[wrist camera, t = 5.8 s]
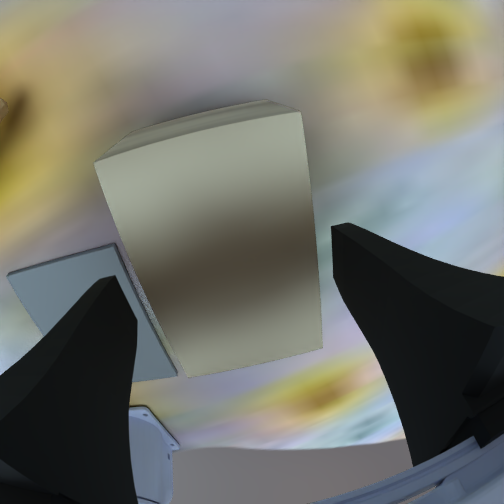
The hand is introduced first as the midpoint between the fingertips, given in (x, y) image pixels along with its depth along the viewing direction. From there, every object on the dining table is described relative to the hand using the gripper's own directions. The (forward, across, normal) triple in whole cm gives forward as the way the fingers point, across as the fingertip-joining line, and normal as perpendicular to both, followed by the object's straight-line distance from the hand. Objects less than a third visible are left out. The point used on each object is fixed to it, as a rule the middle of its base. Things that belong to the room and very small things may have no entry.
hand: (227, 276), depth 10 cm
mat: (+8, +11, +7) cm, 15 cm away
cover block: (+5, 0, 0) cm, 5 cm away
